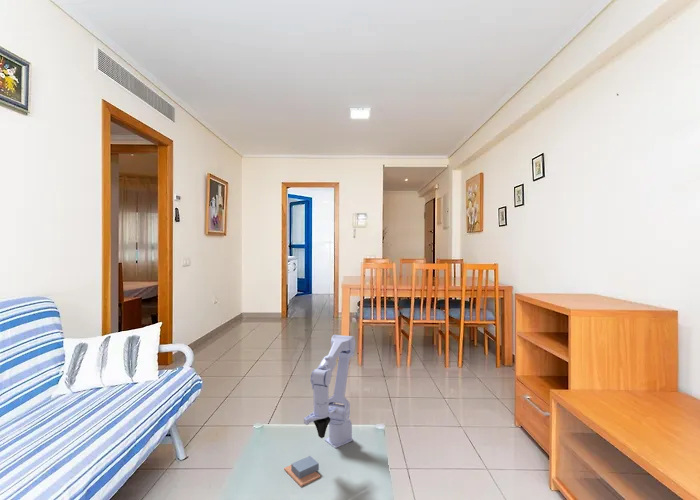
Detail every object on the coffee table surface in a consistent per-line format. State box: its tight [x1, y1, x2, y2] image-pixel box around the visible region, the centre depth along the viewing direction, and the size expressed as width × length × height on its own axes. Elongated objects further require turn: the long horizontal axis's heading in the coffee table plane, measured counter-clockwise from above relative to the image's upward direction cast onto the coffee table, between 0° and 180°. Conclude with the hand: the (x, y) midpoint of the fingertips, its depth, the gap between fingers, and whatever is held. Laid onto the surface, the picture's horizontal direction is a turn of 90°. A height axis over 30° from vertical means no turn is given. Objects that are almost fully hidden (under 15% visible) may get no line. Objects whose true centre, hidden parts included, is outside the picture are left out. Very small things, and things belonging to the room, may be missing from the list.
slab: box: [290, 455, 320, 479], centre depth 131 cm, size 2×6×8 cm
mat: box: [283, 464, 321, 487], centre depth 131 cm, size 8×12×1 cm, turn 38°
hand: (321, 436), depth 136 cm, fingers closed
